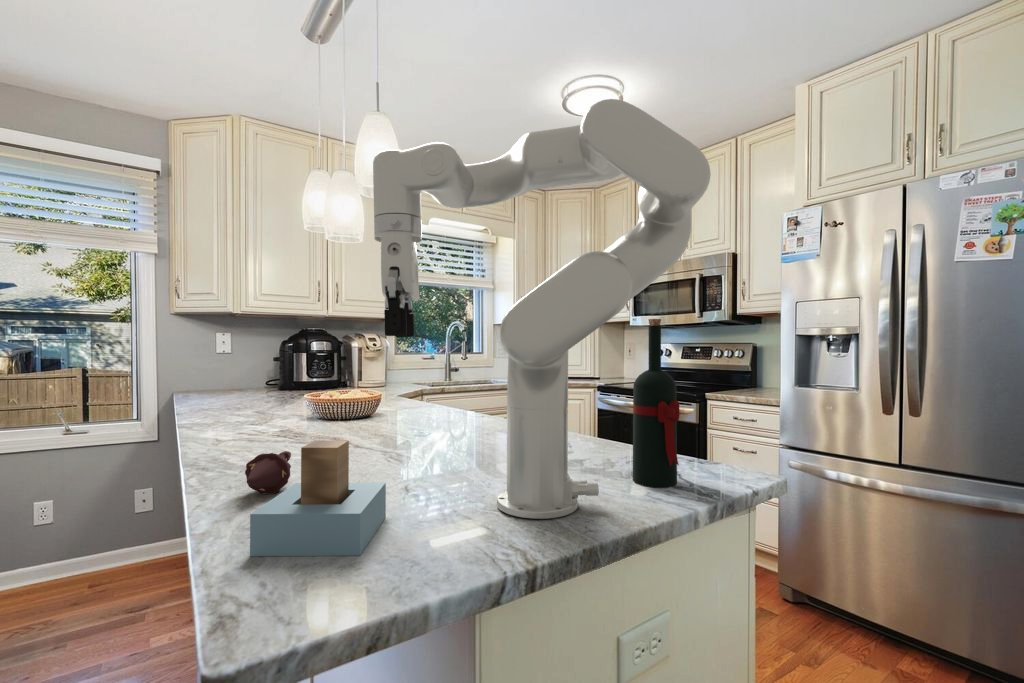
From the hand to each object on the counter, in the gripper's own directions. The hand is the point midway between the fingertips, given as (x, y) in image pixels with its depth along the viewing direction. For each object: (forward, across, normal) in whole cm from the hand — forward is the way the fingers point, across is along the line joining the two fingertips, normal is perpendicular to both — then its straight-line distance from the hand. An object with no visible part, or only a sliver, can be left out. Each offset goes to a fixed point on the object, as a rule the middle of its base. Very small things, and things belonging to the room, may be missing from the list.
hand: (400, 336), depth 79 cm
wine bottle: (+28, +6, -45) cm, 53 cm away
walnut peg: (+26, -13, +8) cm, 31 cm away
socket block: (+26, -13, +8) cm, 31 cm away
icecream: (+26, +6, +24) cm, 36 cm away
